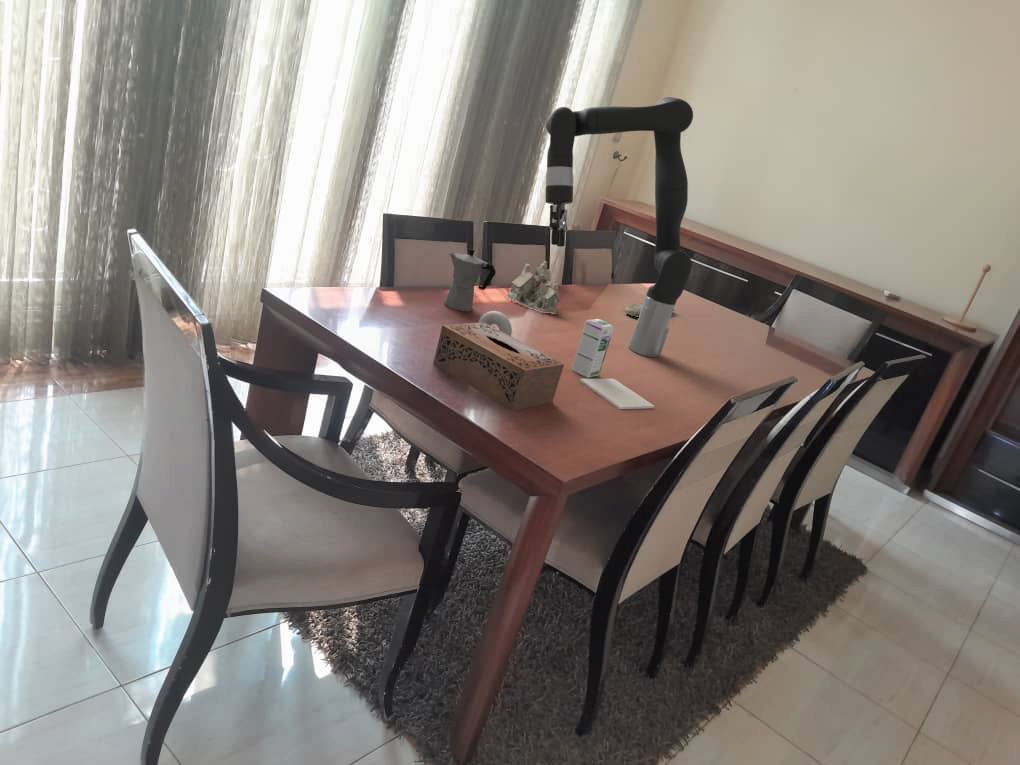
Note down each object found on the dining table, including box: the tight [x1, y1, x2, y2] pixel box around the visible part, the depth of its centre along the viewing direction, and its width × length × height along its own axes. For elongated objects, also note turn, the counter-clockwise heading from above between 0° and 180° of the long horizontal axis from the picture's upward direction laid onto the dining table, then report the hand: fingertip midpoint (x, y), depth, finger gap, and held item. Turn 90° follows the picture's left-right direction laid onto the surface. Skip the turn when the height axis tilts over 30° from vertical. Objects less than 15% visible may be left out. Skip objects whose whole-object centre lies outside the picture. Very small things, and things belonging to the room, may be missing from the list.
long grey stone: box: [624, 302, 675, 318], centre depth 284 cm, size 35×5×10 cm
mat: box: [579, 378, 655, 410], centre depth 189 cm, size 16×12×1 cm
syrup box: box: [571, 318, 615, 379], centre depth 196 cm, size 6×6×14 cm
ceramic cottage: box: [506, 260, 561, 314], centre depth 247 cm, size 16×16×15 cm
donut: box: [478, 310, 513, 337], centre depth 195 cm, size 10×4×10 cm, turn 60°
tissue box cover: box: [432, 321, 565, 412], centre depth 172 cm, size 26×14×10 cm, turn 50°
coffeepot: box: [443, 248, 497, 312], centre depth 222 cm, size 15×9×18 cm, turn 70°
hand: (558, 245), depth 205 cm, fingers open, 8 cm apart
